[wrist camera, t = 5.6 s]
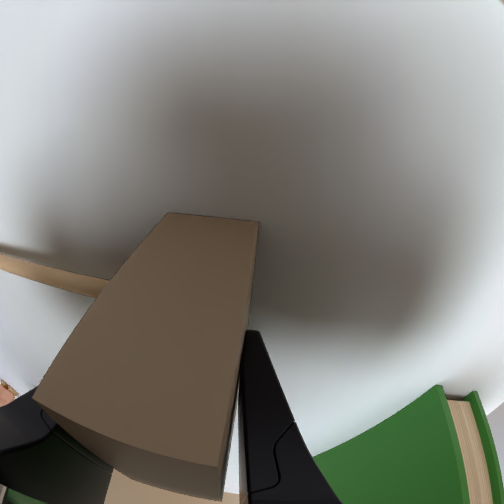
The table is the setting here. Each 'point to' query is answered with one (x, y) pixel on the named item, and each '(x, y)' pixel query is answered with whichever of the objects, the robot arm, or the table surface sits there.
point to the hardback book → (420, 457)
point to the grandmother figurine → (6, 394)
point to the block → (157, 353)
